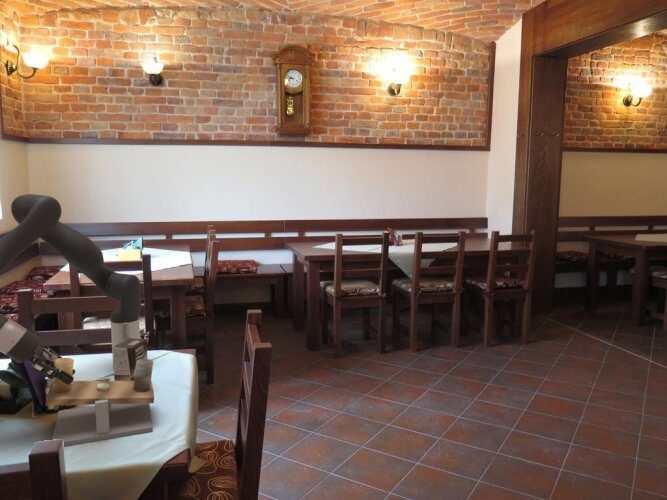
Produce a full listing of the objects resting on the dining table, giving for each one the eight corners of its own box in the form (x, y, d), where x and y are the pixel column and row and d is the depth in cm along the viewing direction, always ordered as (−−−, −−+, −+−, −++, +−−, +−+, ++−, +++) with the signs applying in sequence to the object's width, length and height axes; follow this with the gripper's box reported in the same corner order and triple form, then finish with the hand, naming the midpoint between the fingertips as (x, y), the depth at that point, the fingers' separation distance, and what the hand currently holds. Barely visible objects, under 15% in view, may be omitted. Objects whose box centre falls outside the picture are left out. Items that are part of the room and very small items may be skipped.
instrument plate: (45, 406, 131) (48, 369, 130) (51, 385, 143) (54, 352, 142) (153, 404, 141) (157, 370, 140) (151, 385, 153) (154, 353, 152)
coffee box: (133, 399, 158) (130, 348, 156) (114, 397, 160) (111, 346, 157) (149, 386, 167) (147, 338, 164) (131, 385, 168) (129, 337, 166)
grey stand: (51, 448, 131) (48, 411, 129) (59, 414, 148) (56, 382, 146) (152, 431, 139) (150, 397, 138) (148, 401, 157) (147, 370, 155)
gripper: (20, 338, 126) (80, 377, 133) (29, 321, 139) (84, 357, 146) (-3, 362, 125) (59, 400, 132) (9, 343, 138) (64, 378, 145)
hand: (72, 377), depth 139 cm, fingers closed on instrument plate, 4 cm apart
